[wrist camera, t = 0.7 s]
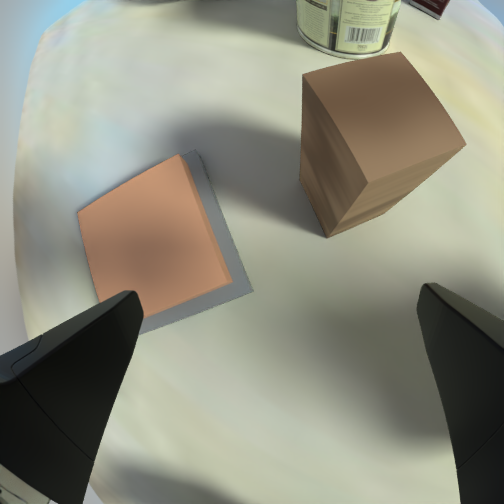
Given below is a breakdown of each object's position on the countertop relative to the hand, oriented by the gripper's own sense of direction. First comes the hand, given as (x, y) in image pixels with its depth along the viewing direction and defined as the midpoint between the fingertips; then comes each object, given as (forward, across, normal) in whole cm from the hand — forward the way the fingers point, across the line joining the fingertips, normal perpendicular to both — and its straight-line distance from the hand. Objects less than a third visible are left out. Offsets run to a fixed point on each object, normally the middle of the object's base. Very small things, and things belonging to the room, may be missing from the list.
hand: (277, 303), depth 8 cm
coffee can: (+25, -8, -15) cm, 31 cm away
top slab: (+12, +10, +3) cm, 16 cm away
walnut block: (+15, -4, +1) cm, 15 cm away
